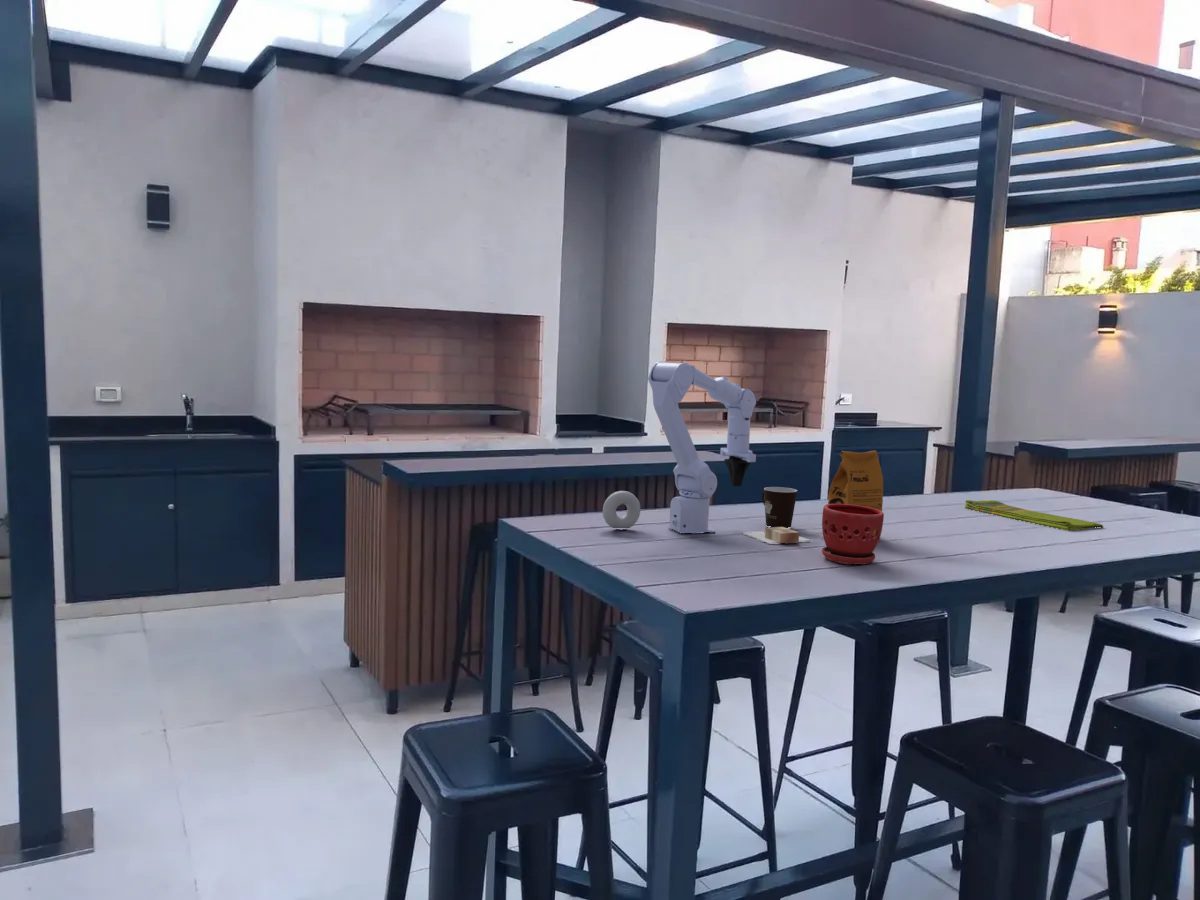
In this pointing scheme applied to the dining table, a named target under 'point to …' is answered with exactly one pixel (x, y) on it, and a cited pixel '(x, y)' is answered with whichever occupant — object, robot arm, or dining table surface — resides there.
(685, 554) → the dining table surface
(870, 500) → the coffee package
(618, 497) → the donut
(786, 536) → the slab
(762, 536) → the mat
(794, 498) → the coffee mug
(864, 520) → the plant pot
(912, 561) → the dining table surface
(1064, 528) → the dish towel
